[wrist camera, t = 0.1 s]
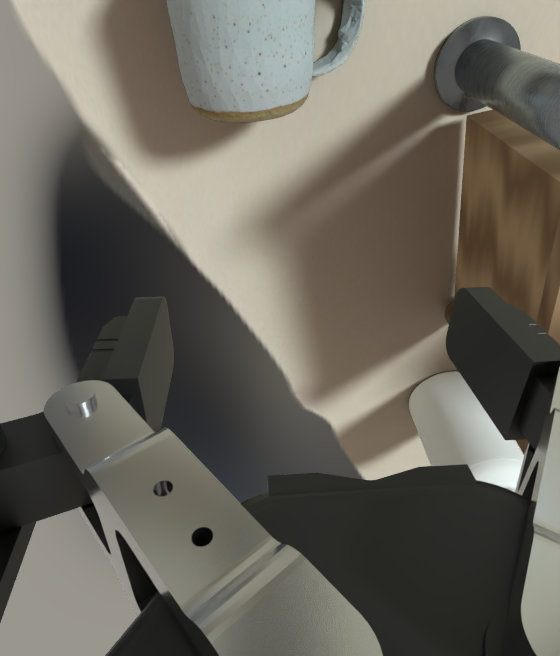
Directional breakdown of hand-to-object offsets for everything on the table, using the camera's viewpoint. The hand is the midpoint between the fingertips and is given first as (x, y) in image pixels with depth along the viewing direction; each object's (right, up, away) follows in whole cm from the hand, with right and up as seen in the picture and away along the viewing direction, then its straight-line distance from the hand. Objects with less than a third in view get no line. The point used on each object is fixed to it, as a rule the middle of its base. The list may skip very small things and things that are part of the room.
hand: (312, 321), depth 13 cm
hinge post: (+12, +17, +16) cm, 26 cm away
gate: (+14, +7, +23) cm, 28 cm away
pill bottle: (+17, -7, +37) cm, 41 cm away
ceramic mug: (-2, +19, +14) cm, 23 cm away
